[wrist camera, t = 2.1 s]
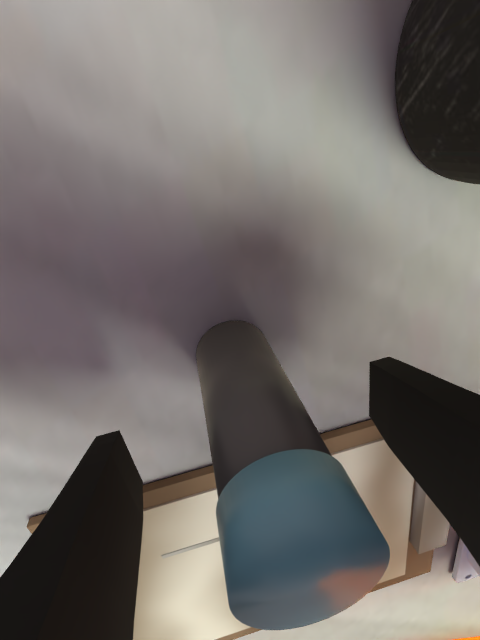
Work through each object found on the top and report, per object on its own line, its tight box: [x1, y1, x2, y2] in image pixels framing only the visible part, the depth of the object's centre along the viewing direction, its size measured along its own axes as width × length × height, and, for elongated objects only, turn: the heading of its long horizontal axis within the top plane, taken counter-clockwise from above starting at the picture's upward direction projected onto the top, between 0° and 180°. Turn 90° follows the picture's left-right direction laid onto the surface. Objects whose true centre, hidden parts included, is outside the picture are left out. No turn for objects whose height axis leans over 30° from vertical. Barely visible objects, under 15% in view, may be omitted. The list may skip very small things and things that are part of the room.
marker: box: [196, 321, 390, 630], centre depth 10 cm, size 3×3×8 cm
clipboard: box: [27, 419, 450, 640], centre depth 18 cm, size 20×15×1 cm
